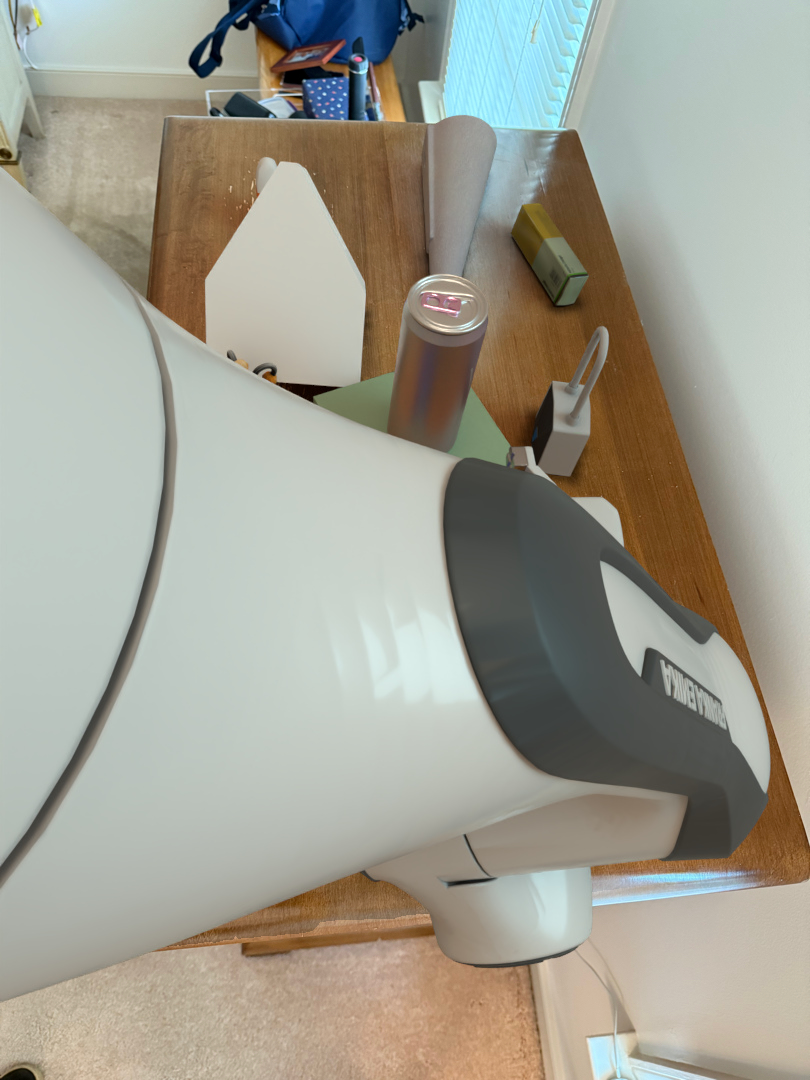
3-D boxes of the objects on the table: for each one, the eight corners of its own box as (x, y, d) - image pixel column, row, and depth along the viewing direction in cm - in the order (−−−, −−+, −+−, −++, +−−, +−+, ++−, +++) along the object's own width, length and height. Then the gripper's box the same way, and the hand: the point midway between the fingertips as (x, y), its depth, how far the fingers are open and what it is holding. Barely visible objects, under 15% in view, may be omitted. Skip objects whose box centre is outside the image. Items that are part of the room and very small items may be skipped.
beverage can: (393, 401, 65) (412, 263, 51) (459, 415, 65) (496, 281, 51) (380, 456, 62) (397, 324, 49) (450, 470, 62) (486, 342, 49)
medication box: (575, 304, 81) (591, 276, 78) (555, 307, 80) (570, 278, 77) (528, 230, 86) (541, 200, 82) (508, 232, 85) (520, 202, 81)
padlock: (574, 477, 70) (634, 369, 57) (531, 471, 69) (581, 362, 56) (572, 421, 73) (628, 307, 60) (530, 415, 73) (578, 300, 60)
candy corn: (283, 244, 81) (280, 178, 74) (255, 242, 80) (250, 176, 73) (284, 208, 83) (282, 141, 77) (258, 206, 83) (253, 139, 76)
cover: (312, 402, 65) (313, 396, 64) (447, 359, 69) (449, 353, 68) (379, 524, 59) (380, 519, 59) (521, 470, 63) (523, 465, 63)
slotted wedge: (359, 364, 78) (371, 175, 71) (359, 388, 68) (374, 170, 60) (226, 354, 77) (225, 160, 69) (206, 376, 67) (202, 153, 59)
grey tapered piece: (522, 304, 74) (504, 118, 83) (436, 297, 73) (428, 110, 82) (502, 351, 81) (488, 175, 90) (424, 345, 80) (418, 168, 89)
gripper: (666, 617, 42) (613, 422, 48) (303, 631, 39) (299, 422, 46) (625, 655, 47) (582, 476, 54) (304, 670, 45) (300, 479, 51)
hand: (450, 451), depth 50 cm, fingers open, 8 cm apart
